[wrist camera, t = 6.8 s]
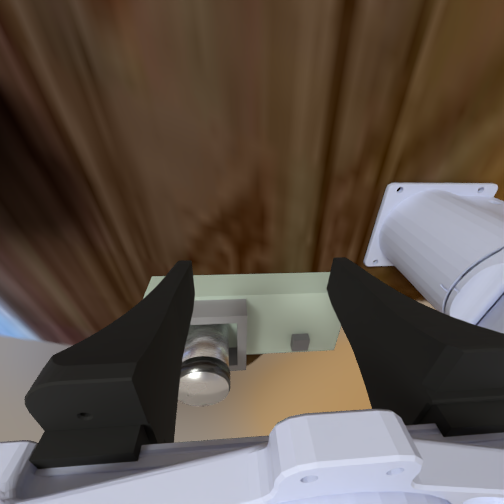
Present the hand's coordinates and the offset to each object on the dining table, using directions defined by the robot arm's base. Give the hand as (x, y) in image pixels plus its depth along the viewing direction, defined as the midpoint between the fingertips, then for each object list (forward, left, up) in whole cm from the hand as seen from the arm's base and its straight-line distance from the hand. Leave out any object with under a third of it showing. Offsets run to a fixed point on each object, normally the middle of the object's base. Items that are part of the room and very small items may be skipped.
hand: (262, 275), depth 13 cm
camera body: (0, +11, -9) cm, 14 cm away
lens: (+4, +11, -6) cm, 13 cm away
